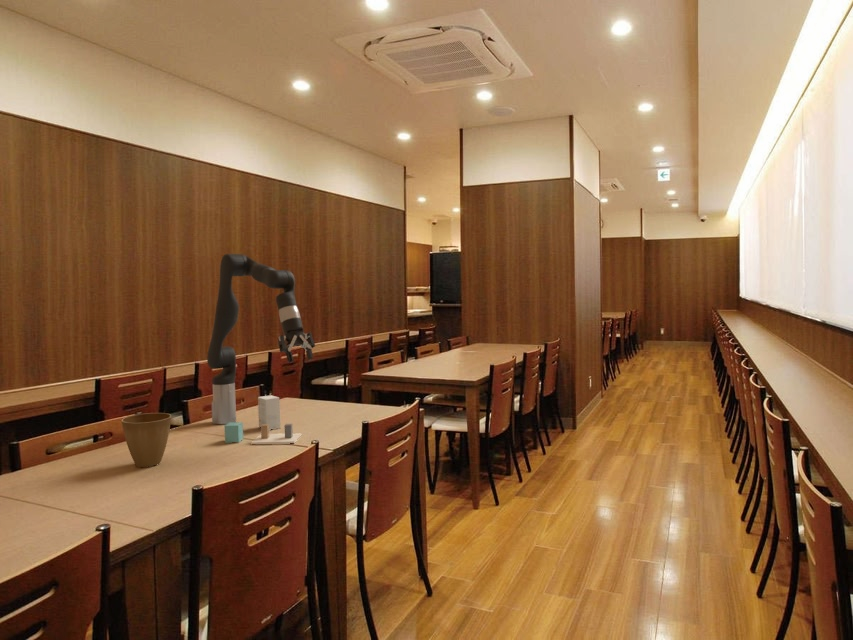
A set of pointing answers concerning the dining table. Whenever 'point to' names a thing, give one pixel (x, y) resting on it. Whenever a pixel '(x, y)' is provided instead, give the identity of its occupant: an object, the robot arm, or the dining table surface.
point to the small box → (269, 411)
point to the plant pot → (147, 437)
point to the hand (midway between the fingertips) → (301, 360)
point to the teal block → (233, 432)
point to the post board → (276, 436)
